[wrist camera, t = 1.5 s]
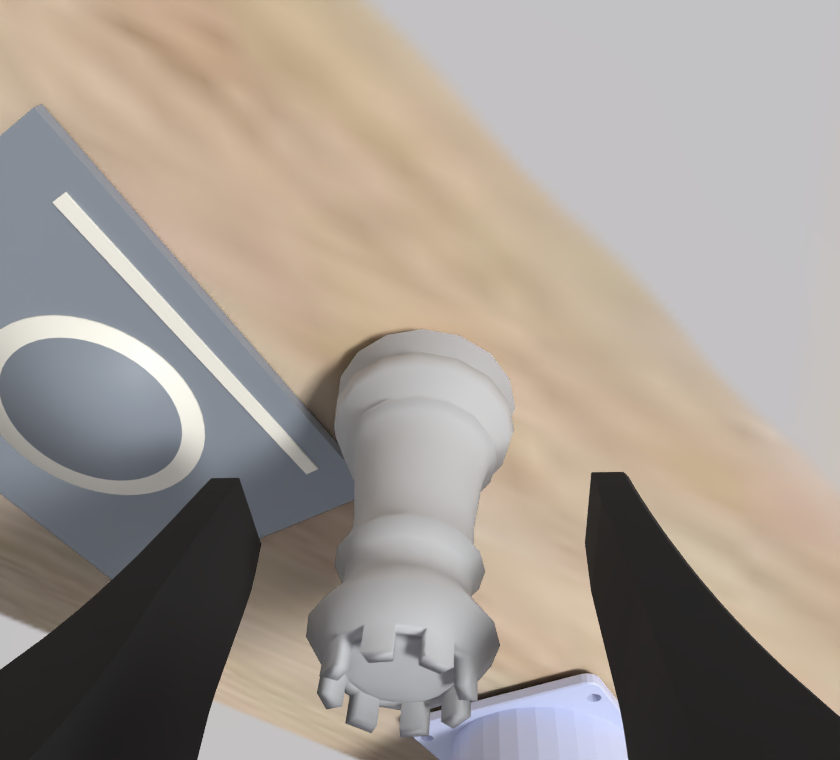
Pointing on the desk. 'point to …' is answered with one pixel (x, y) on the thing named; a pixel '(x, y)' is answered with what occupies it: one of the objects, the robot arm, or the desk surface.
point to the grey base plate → (129, 371)
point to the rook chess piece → (413, 530)
